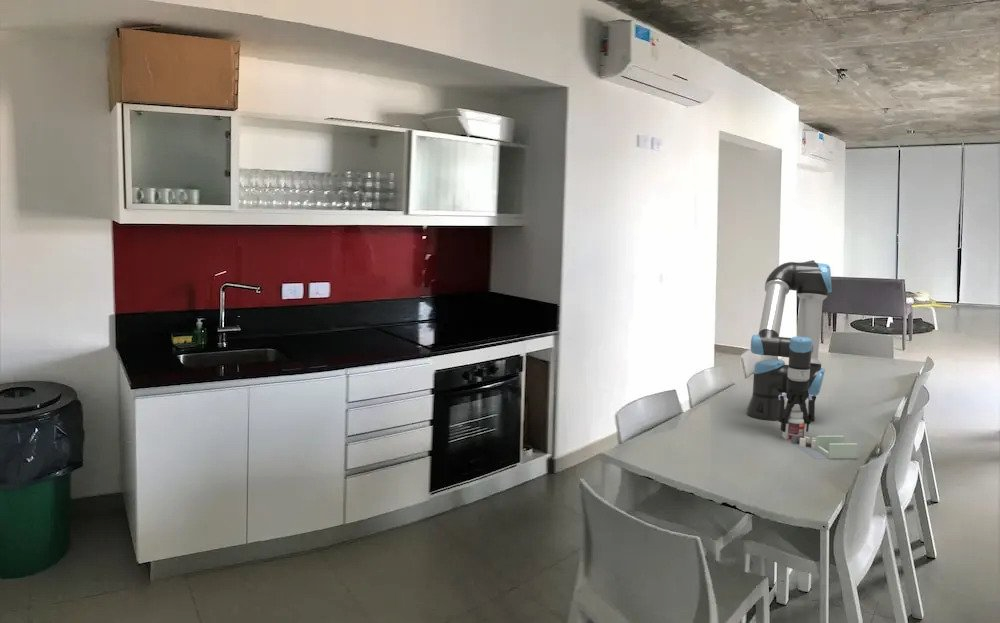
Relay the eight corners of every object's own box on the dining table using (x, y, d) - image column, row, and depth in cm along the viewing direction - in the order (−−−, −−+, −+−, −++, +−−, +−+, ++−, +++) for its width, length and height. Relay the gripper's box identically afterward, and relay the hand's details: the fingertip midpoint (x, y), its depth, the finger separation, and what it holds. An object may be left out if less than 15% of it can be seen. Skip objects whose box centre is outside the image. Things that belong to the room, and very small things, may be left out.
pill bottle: (801, 444, 267) (803, 414, 265) (783, 441, 270) (785, 412, 268) (803, 440, 272) (805, 410, 271) (786, 437, 275) (788, 408, 274)
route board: (789, 444, 267) (790, 433, 266) (829, 444, 268) (830, 433, 267) (814, 462, 248) (815, 450, 248) (857, 462, 249) (858, 450, 249)
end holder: (815, 449, 258) (816, 435, 257) (841, 449, 259) (843, 435, 258) (829, 458, 249) (830, 444, 248) (856, 458, 249) (857, 444, 248)
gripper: (777, 381, 264) (772, 443, 267) (828, 381, 265) (823, 443, 268) (768, 376, 271) (764, 436, 274) (818, 376, 272) (813, 436, 275)
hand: (793, 439), depth 271 cm, fingers closed on pill bottle, 6 cm apart
